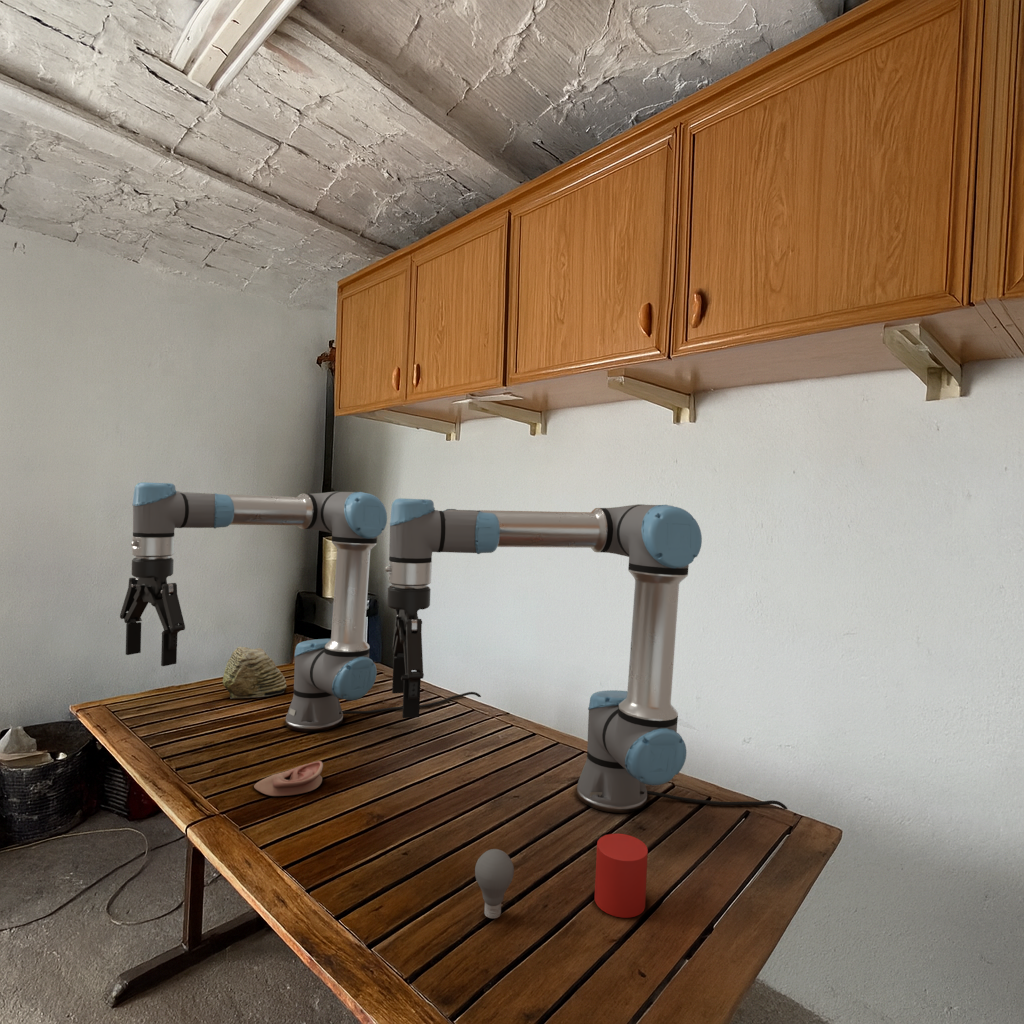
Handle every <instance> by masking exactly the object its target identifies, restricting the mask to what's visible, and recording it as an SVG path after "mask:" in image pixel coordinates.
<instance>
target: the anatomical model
mask: <svg viewBox="0 0 1024 1024" xmlns="http://www.w3.org/2000/svg"><path fill="white" fill-rule="evenodd" d="M323 768H324V763H323V761H321V760H318V761H312V762H309V763H306V764H303V765H299V766H297V767H294V768H291V769H288V770H286V771H283V772H278V773H275V774H272V775H269V776H267V777H265V778H263V779H260V780H259V781H257V782H256V783H255V784H254V785H253V788H254V789H255V790H256V791H257V792H259V793H261V794H264V795H266V796H268V797H269V796H270V797H284V796H295V795H301V794H305V793H308V792H312V791H315V790H316V789H317V788H319V787H320V786H321V784H322V783H323V777H322V775H321V774H322V771H323Z"/></svg>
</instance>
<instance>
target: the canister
mask: <svg viewBox="0 0 1024 1024" xmlns="http://www.w3.org/2000/svg"><path fill="white" fill-rule="evenodd" d="M596 842H597V843H596V859H595V880H594V902H595V904H596V906H597V907H598V908H599V909H600V910H601V911H602V912H604V913H606V914H607V915H610V916H612V917H616V918H623V919H630V918H635V917H638V916H639V915H641V914H642V913H644V911H645V909H646V900H647V899H646V898H647V897H646V896H647V875H648V854H649V850H648V846H647V845H646V844H645V842H643V841H642V840H641V839H639V838H637V837H635V836H632V835H629V834H625V833H608V834H605V835H603V836H601V837H600V838H599V839H598V840H597V841H596Z"/></svg>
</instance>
